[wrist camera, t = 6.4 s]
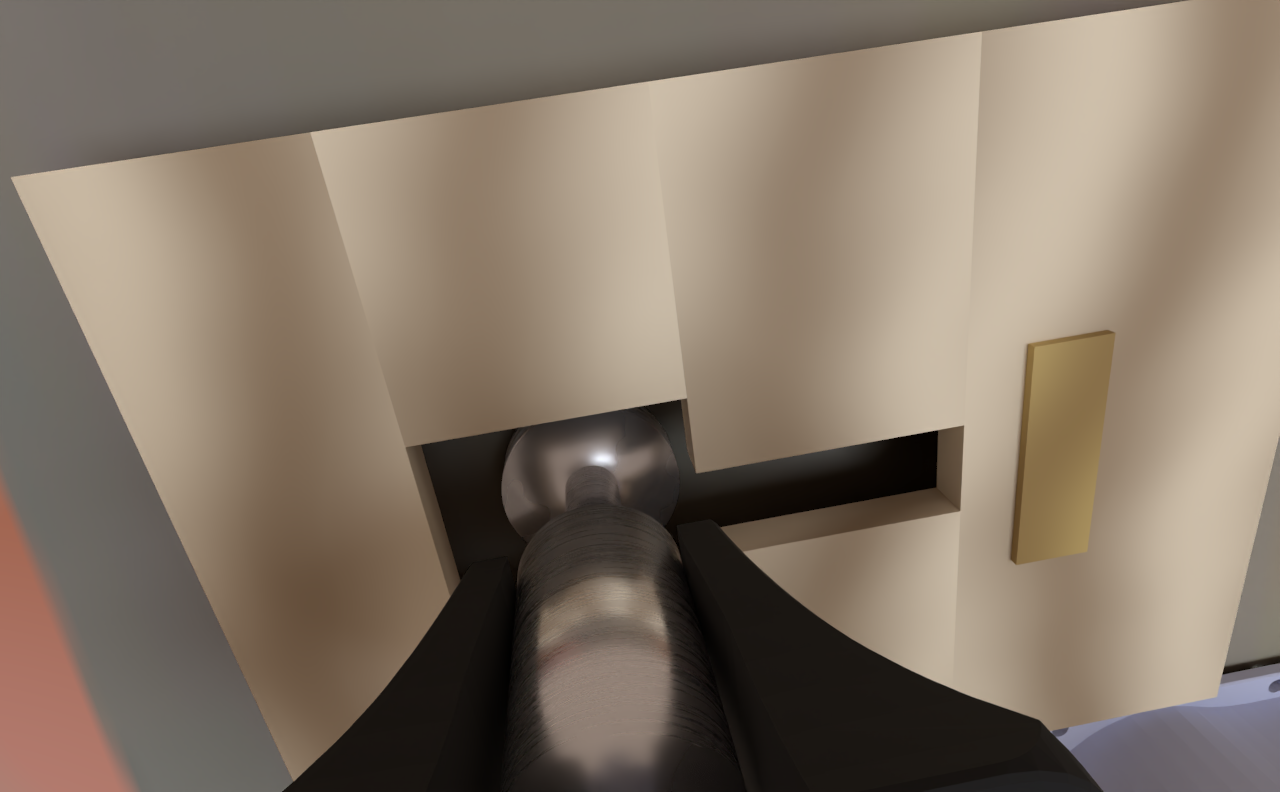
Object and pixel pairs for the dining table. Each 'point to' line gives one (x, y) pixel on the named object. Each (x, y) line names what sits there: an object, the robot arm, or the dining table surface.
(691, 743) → the peg
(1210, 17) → the keyhole plate
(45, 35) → the dining table surface
